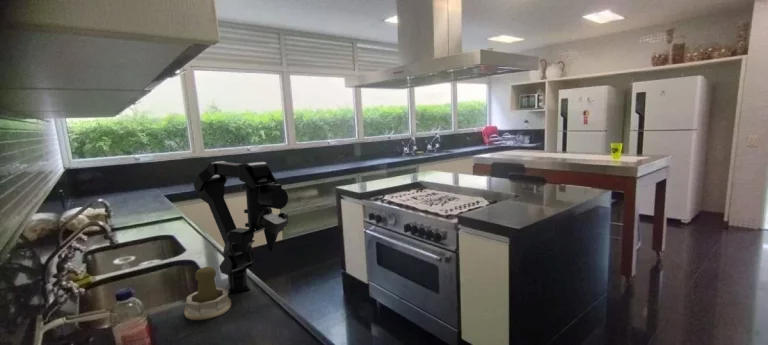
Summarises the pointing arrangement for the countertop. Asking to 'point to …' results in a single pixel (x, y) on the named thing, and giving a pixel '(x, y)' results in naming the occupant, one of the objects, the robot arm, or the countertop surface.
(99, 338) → the countertop surface
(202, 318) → the dock socket
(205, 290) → the olive brown tapered peg
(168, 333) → the countertop surface
